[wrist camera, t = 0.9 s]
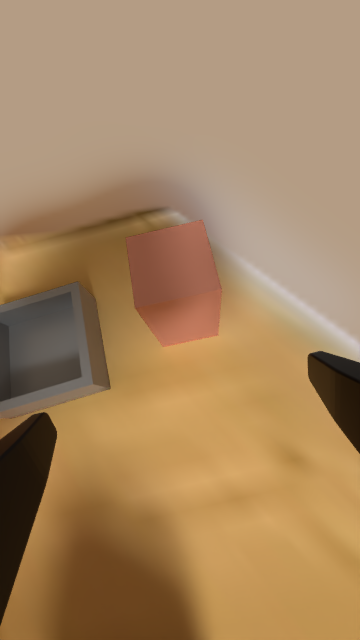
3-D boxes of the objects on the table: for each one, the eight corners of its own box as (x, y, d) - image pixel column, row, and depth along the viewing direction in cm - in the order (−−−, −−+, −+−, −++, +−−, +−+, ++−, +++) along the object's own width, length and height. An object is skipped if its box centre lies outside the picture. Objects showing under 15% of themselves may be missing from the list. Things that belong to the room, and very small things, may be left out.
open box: (110, 388, 22) (93, 384, 19) (11, 418, 22) (-23, 418, 19) (95, 298, 26) (77, 281, 22) (8, 324, 26) (-21, 311, 22)
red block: (218, 335, 23) (221, 289, 14) (163, 347, 23) (135, 308, 15) (205, 286, 25) (202, 219, 16) (154, 297, 25) (125, 237, 16)
